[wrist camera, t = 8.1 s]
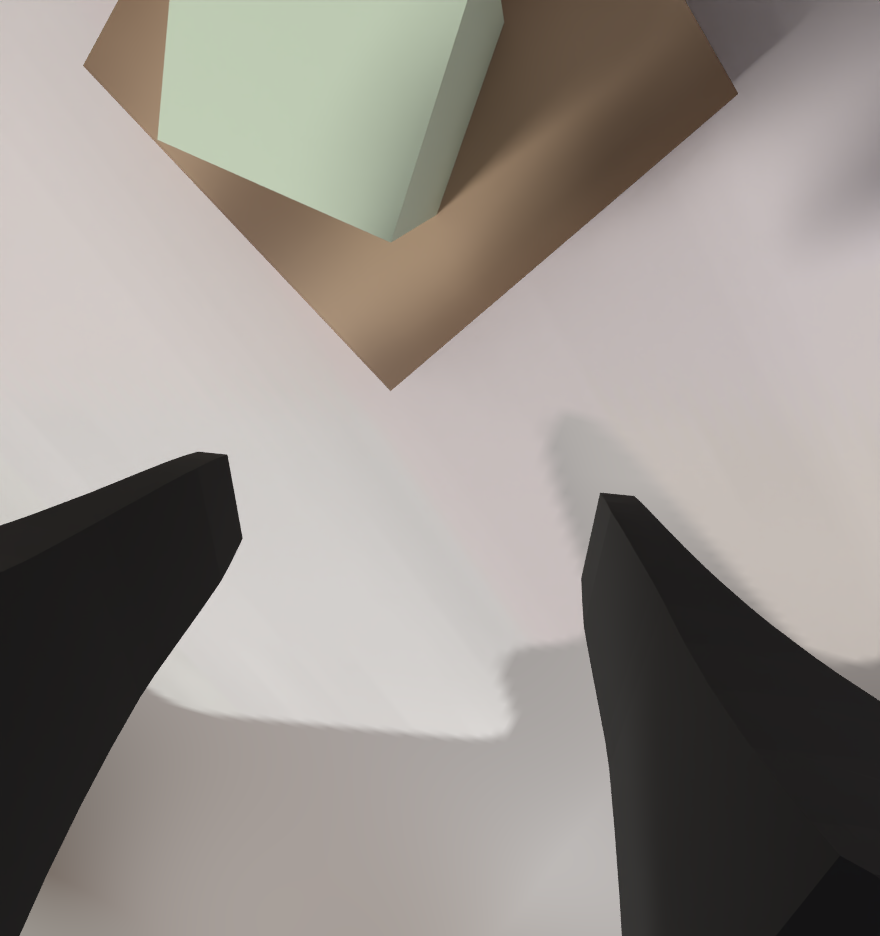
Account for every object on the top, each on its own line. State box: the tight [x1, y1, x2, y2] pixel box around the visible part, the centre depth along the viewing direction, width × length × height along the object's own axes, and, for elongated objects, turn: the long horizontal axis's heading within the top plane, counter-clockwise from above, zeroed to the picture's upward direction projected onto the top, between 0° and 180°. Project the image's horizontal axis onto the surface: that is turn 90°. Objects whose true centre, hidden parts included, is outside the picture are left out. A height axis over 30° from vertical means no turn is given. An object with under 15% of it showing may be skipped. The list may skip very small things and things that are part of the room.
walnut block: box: [83, 0, 738, 391], centre depth 15 cm, size 12×12×3 cm
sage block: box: [157, 0, 504, 242], centre depth 11 cm, size 4×4×6 cm
